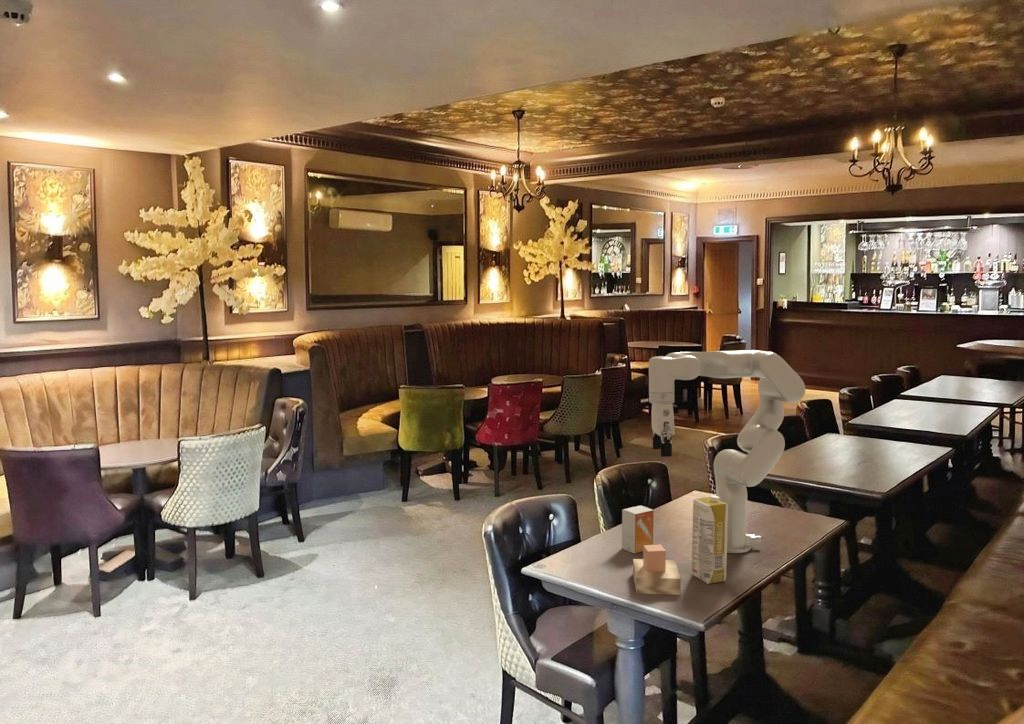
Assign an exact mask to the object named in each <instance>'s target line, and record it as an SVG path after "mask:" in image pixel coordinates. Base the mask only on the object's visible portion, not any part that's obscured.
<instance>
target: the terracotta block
mask: <svg viewBox="0 0 1024 724" xmlns="http://www.w3.org/2000/svg"><path fill="white" fill-rule="evenodd" d="M642 554H643V557H642V559H643V566H644V567H645V569H646V570H647V572H665V571H666V560H667V559H666V557H667V551H666V549H665V548H664V547H663V546H662V544H653V545H643V552H642Z"/></svg>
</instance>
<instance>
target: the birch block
mask: <svg viewBox="0 0 1024 724" xmlns="http://www.w3.org/2000/svg"><path fill="white" fill-rule="evenodd" d="M632 576H633V582H634V583H635V584H634V590H635V589H636V590H635V594H638V593H644V594H645V595H670V594H671V595H673V596H675V595H676V596H680V595H681V593H682V592H681V591H682V590H681V588H682V585H681V583H682V581H681V580H682V578H681V575H680V572H679V569H678V565H677V563H676V560H675V559H666V571H665V572H647V570H646V569H645V567H644V566H643V558H642V559H641V558H633V559H632ZM644 594H643V595H644Z"/></svg>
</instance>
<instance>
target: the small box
mask: <svg viewBox="0 0 1024 724" xmlns="http://www.w3.org/2000/svg"><path fill="white" fill-rule="evenodd" d="M654 512H655V511H654V509H652V508H649V507H647V506H643V505H642V504H641V505H637V506H632V507H628V508H624V509H622V510H621V514H622V515H621V549H622V550H624V551H626V552H629V553H632V554H636V555H637V554H638V553H639V554H640V553H643V545H654V514H655V513H654Z"/></svg>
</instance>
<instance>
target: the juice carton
mask: <svg viewBox="0 0 1024 724" xmlns="http://www.w3.org/2000/svg"><path fill="white" fill-rule="evenodd" d="M719 498H720V497H718V496H716V495H710V496H707V497H706V496H705V497H699V498H693V500H692V501H693V502H692V505H693V506H692V534H691V537H692V539H691V541H692V543H691V544H692V545H691V546H692V547H691V573H692V576H693V577H696V578H697V579H699V580H701V581H702V582H703V583H705V584H707V585H710V584H715V583H723V582H725V581H726V580H727V567H728V566H727V563H728V562H727V561H728V557H727V556H728V553H727V521H728V504H727V503H723V502H720V501H719Z"/></svg>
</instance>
